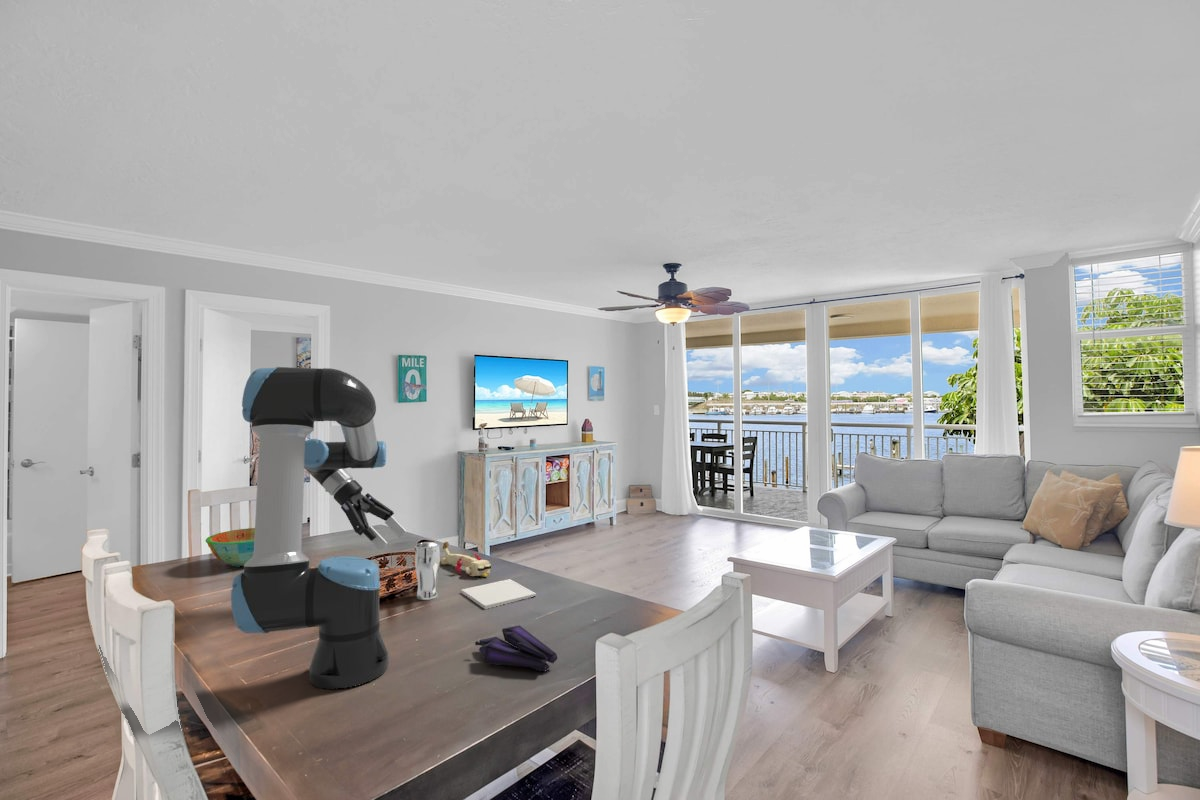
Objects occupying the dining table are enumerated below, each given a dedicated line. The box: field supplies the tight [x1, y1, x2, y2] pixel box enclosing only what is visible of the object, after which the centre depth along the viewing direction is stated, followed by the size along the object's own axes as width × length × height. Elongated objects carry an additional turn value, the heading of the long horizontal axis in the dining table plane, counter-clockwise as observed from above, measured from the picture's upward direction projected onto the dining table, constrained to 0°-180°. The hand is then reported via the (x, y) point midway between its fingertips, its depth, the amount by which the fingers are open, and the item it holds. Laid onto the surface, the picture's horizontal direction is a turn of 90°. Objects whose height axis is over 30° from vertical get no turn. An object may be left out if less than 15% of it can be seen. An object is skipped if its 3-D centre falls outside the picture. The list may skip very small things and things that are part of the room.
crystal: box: [474, 625, 558, 672], centre depth 124 cm, size 7×12×20 cm
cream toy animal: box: [440, 541, 492, 577], centre depth 189 cm, size 10×9×25 cm
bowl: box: [205, 527, 255, 568], centre depth 195 cm, size 22×22×10 cm
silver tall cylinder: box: [414, 541, 441, 601], centre depth 164 cm, size 7×7×15 cm
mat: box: [460, 578, 537, 610], centre depth 165 cm, size 16×16×1 cm
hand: (393, 540), depth 164 cm, fingers open, 13 cm apart
